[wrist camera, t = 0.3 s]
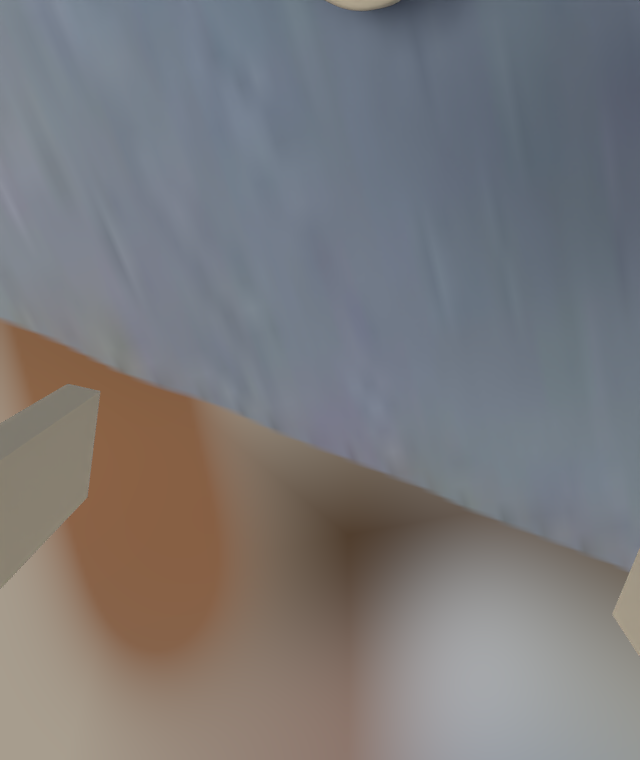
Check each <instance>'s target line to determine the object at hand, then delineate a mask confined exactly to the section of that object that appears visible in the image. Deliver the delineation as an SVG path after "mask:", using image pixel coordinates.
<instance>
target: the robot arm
mask: <svg viewBox="0 0 640 760" xmlns="http://www.w3.org/2000/svg"><path fill="white" fill-rule="evenodd" d="M99 397H100V391H97V390H93V389H88V388H84V387H79V386H75V385H70V384H67V385H65V386H63V387H62V388H60V389H58V390H57V391H55V392H53V393H51V394H50V395H48V396H46V397H45V398H43V399H41V400H39V401H38V402H36V403H34V404H33V405H31V406H29V407H27V408H26V409H24V410H23V411H21V412H19V413H17V414H15V415H14V416H12V417H10V418H9V419H7V420H5V421H4V422H2V423H0V589H1V588H2V587H3V586H4V585H5V584H6V583H7V582H8V580H9V579H10V578H11V577H12V576H13V575H14V574H15V573H16V572H17V571H18V570H19V569H20V568H21V567H22V566H23V565H24V563H26V561H27V560H28V559H29V558H30V557H31V556H32V555H33V554H34V553H35V552H36V551H37V550H38V549H39V548H40V547H41V546H42V545H43V543H44V542H45V541H46V540H47V539H48V538H49V537H50V536H51V535H52V534H53V533H54V532H55V531H56V530H57V529H58V528H59V527H60V526H61V524H62V523H63V522H64V521H65V520H66V519H67V518H68V517H69V516H70V515H71V514H72V513H73V512H74V511H75V510H76V509H77V508H78V506H79V505H80V504H81V503H82V502H83V501H84V500H85V499H86V498H87V496H88V488H89V487H88V486H89V480H90V471H91V463H92V455H93V447H94V438H95V430H96V421H97V413H98V406H99ZM612 615H613V616H614V618H615V620H616V621H617V623H618V624H619V626H620V627H621V629H622V630H623V632H624V633H625V635H626V636H627V638H628V639H629V641H630V642H631V644H632V646H633V647H634V648H635V650H636V652H637V653H638V655H639V656H640V549H639V551H638V554H637V556H636V559H635V561H634V563H633V566H632V568H631V570H630V573H629V575H628V578H627V580H626V582H625V585H624V587H623V590H622V592H621V595H620V597H619V599H618V602H617V604H616V606H615V609H614V611H613V614H612Z"/></svg>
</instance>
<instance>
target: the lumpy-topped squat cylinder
mask: <svg viewBox="0 0 640 760" xmlns="http://www.w3.org/2000/svg"><path fill="white" fill-rule="evenodd" d="M325 1H327V2H329V3H331V4H333V5H336V6H338V7H341V8H344V9H348V10H355V11H368V10H375V9H380V8H384V7H388V6H391V5H393V4H395V3H397V2H399V1H400V0H325Z"/></svg>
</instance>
